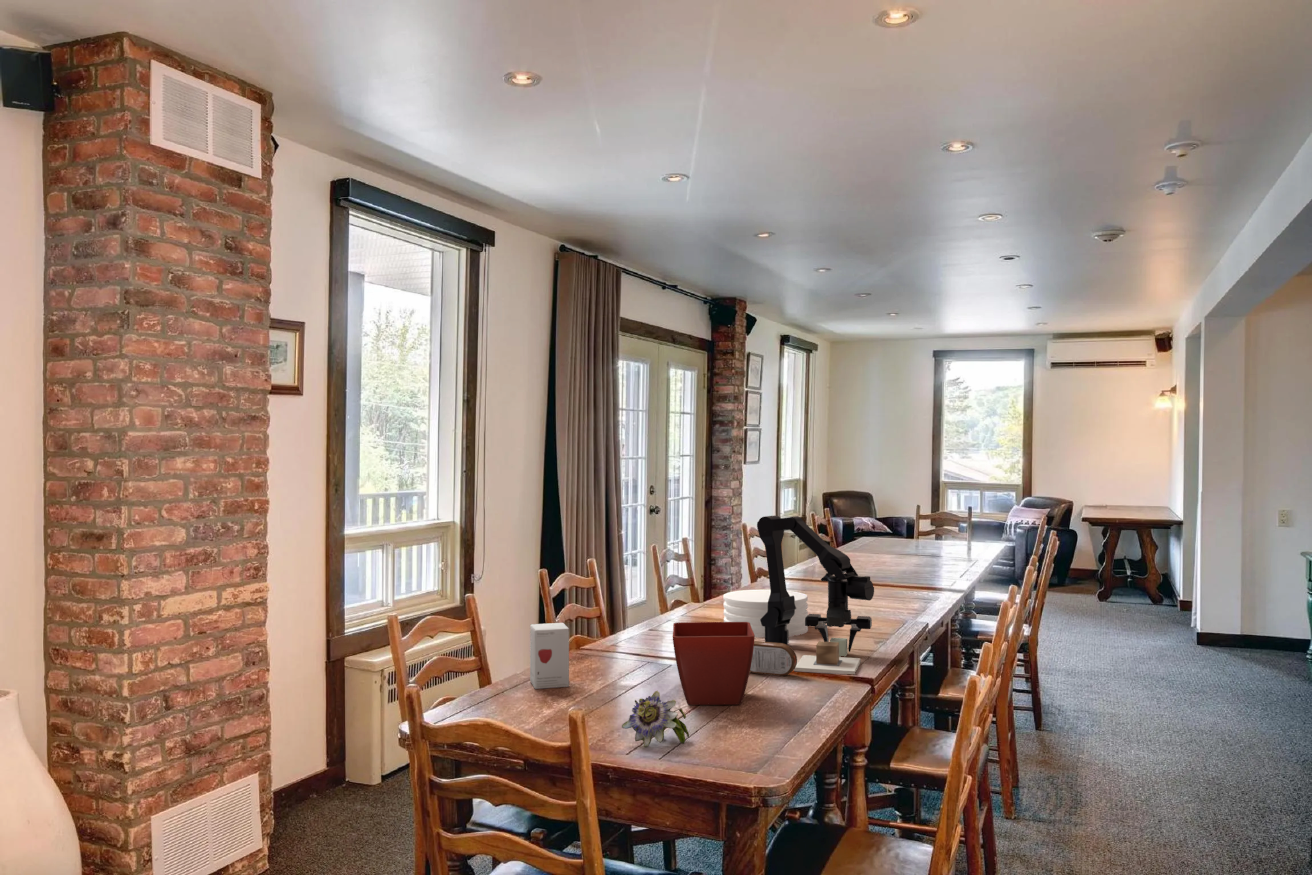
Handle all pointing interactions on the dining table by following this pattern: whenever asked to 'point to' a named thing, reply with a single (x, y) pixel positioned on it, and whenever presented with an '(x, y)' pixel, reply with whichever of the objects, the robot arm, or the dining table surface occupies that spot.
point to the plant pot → (713, 660)
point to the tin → (773, 659)
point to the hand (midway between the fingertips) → (838, 650)
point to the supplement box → (549, 655)
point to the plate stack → (762, 610)
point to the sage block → (841, 645)
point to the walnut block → (827, 653)
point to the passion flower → (655, 720)
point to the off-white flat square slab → (828, 665)
